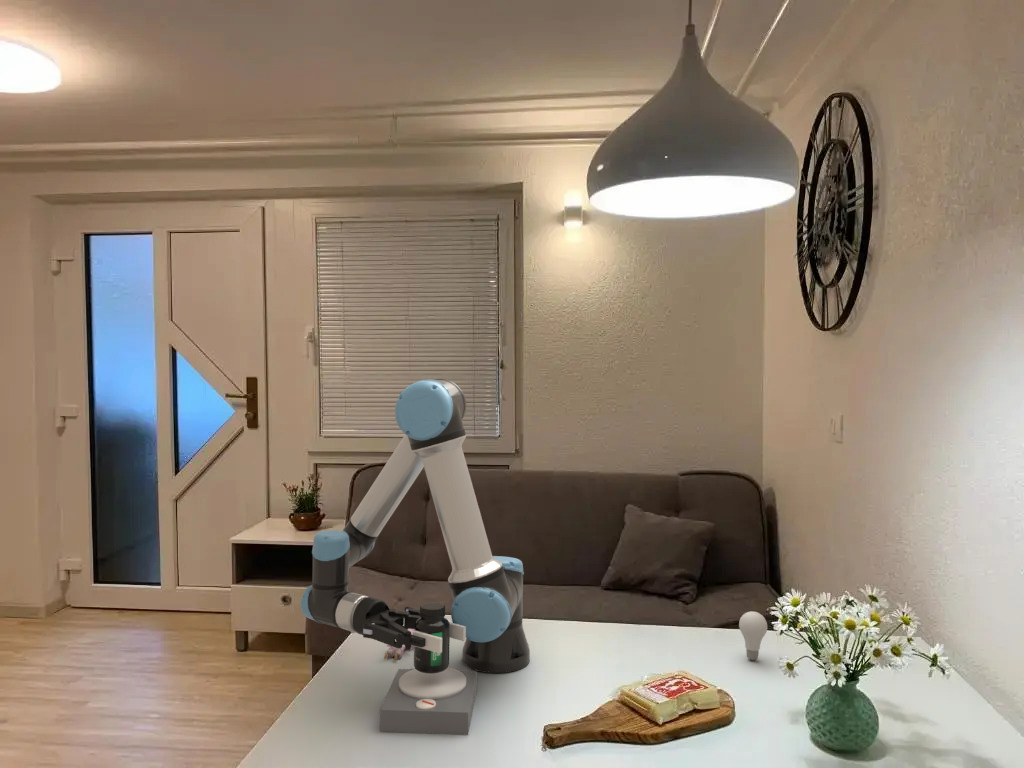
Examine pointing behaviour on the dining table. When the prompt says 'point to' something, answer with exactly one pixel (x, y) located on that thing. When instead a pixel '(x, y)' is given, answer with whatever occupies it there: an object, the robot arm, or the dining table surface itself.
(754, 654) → the lightbulb
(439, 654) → the supplement bottle
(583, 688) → the dining table surface
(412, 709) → the kitchen scale
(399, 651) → the pink unicorn toy
